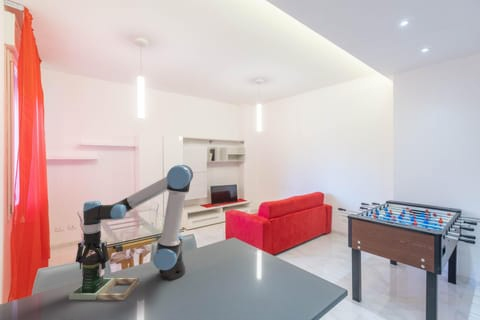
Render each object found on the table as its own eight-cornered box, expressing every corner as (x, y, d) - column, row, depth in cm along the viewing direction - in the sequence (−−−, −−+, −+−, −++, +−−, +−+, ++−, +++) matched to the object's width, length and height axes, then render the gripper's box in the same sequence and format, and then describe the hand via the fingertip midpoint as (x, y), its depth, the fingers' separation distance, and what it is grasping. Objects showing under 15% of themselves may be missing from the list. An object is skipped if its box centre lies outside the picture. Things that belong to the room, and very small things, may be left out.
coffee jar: (94, 296, 111) (94, 258, 111) (78, 295, 111) (79, 258, 111) (106, 285, 120) (107, 250, 120) (92, 285, 121) (92, 250, 121)
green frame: (113, 282, 123) (113, 278, 123) (95, 299, 108) (95, 294, 108) (90, 282, 123) (90, 277, 123) (69, 299, 108) (69, 294, 108)
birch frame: (138, 282, 123) (138, 278, 123) (123, 299, 108) (123, 294, 108) (115, 282, 123) (115, 278, 123) (97, 299, 108) (97, 294, 108)
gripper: (117, 229, 119) (117, 271, 119) (77, 229, 120) (77, 271, 120) (108, 233, 112) (108, 279, 112) (66, 233, 112) (66, 278, 112)
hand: (92, 275), depth 116 cm, fingers open, 9 cm apart
